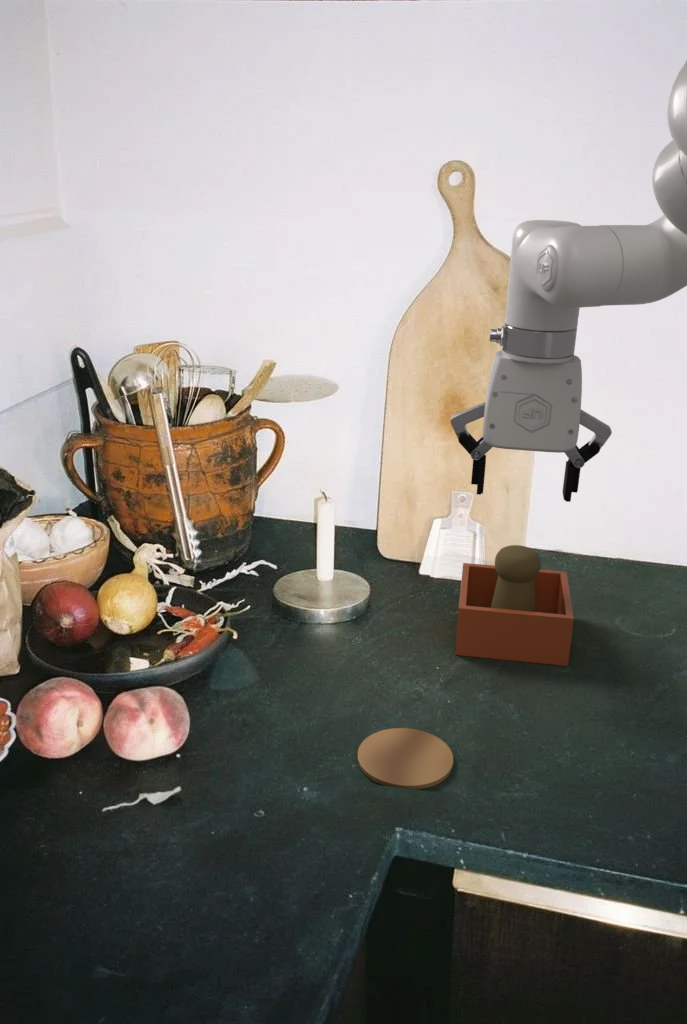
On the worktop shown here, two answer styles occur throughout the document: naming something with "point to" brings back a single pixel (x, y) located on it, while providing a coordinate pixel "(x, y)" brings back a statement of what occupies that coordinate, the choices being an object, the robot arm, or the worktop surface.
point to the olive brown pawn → (516, 578)
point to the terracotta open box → (514, 619)
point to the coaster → (405, 758)
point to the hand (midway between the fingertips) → (522, 494)
